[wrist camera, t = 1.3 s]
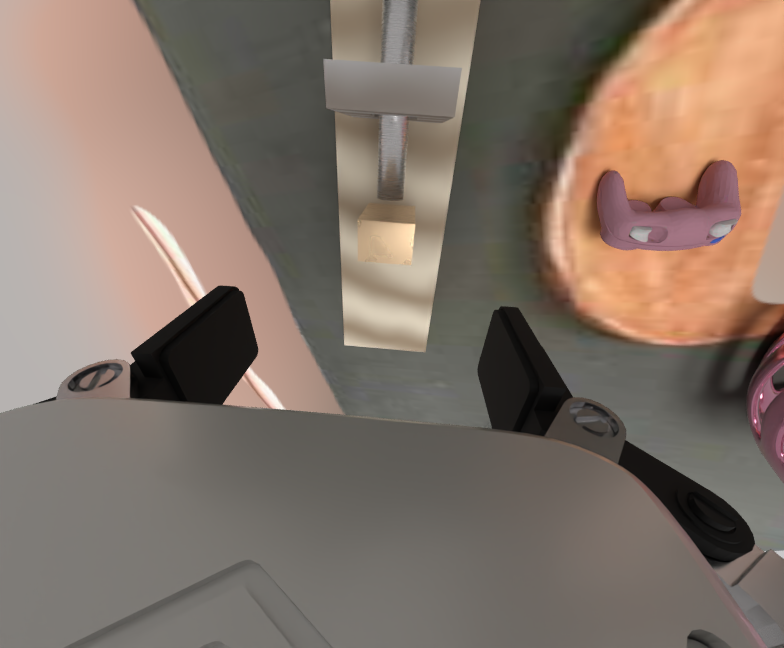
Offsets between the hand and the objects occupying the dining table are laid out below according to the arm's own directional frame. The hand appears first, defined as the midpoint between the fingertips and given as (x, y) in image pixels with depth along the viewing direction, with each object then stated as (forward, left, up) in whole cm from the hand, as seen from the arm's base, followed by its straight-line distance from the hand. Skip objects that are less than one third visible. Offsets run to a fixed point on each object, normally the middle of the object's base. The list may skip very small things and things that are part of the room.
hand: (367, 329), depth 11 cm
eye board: (0, 0, -20) cm, 20 cm away
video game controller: (-3, +23, -21) cm, 31 cm away
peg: (-6, 0, -17) cm, 18 cm away
